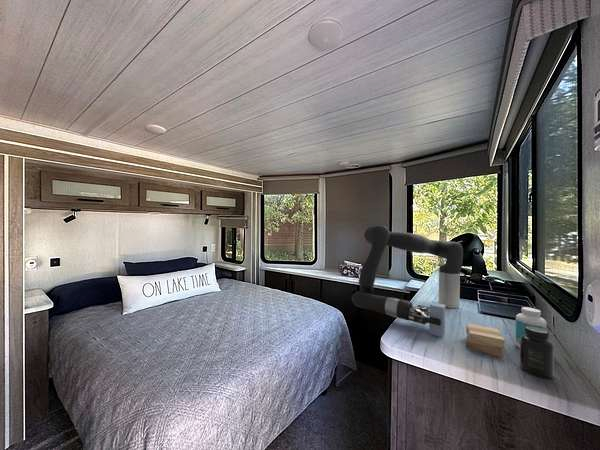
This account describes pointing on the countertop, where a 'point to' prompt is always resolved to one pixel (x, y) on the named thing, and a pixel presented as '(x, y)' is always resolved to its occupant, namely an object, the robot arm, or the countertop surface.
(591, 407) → the countertop surface
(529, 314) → the pill bottle
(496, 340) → the tower top
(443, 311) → the pillar
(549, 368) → the supplement bottle
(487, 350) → the tower base
